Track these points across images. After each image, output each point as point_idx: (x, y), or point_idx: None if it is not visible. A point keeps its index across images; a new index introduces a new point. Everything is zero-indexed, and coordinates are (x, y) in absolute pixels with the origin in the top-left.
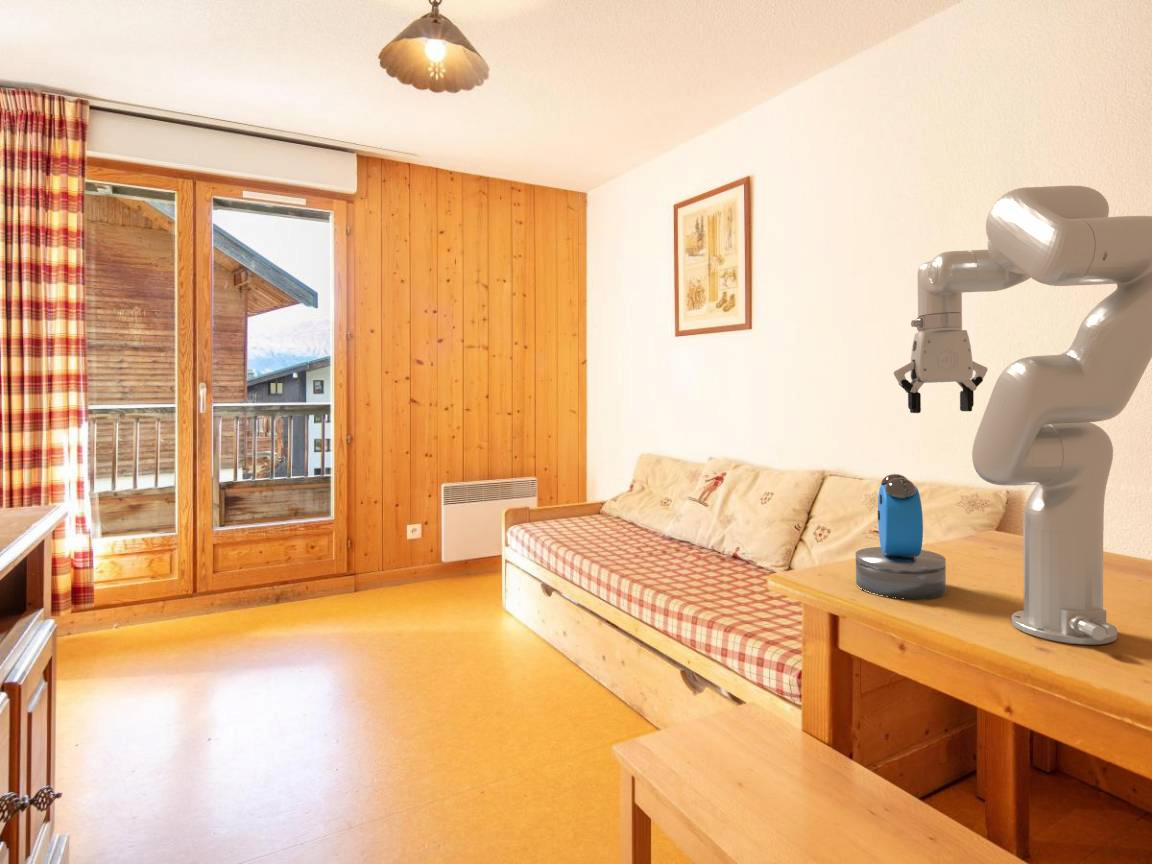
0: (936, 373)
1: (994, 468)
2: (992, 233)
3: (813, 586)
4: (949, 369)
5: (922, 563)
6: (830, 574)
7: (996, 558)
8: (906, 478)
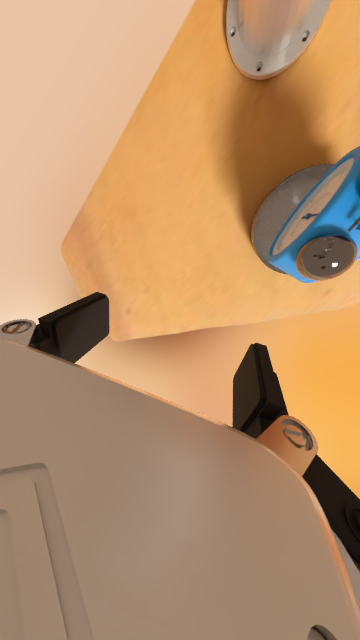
0: (173, 489)
1: None
2: None
3: None
4: (3, 477)
5: (316, 178)
6: (315, 290)
7: (144, 286)
8: (320, 241)
